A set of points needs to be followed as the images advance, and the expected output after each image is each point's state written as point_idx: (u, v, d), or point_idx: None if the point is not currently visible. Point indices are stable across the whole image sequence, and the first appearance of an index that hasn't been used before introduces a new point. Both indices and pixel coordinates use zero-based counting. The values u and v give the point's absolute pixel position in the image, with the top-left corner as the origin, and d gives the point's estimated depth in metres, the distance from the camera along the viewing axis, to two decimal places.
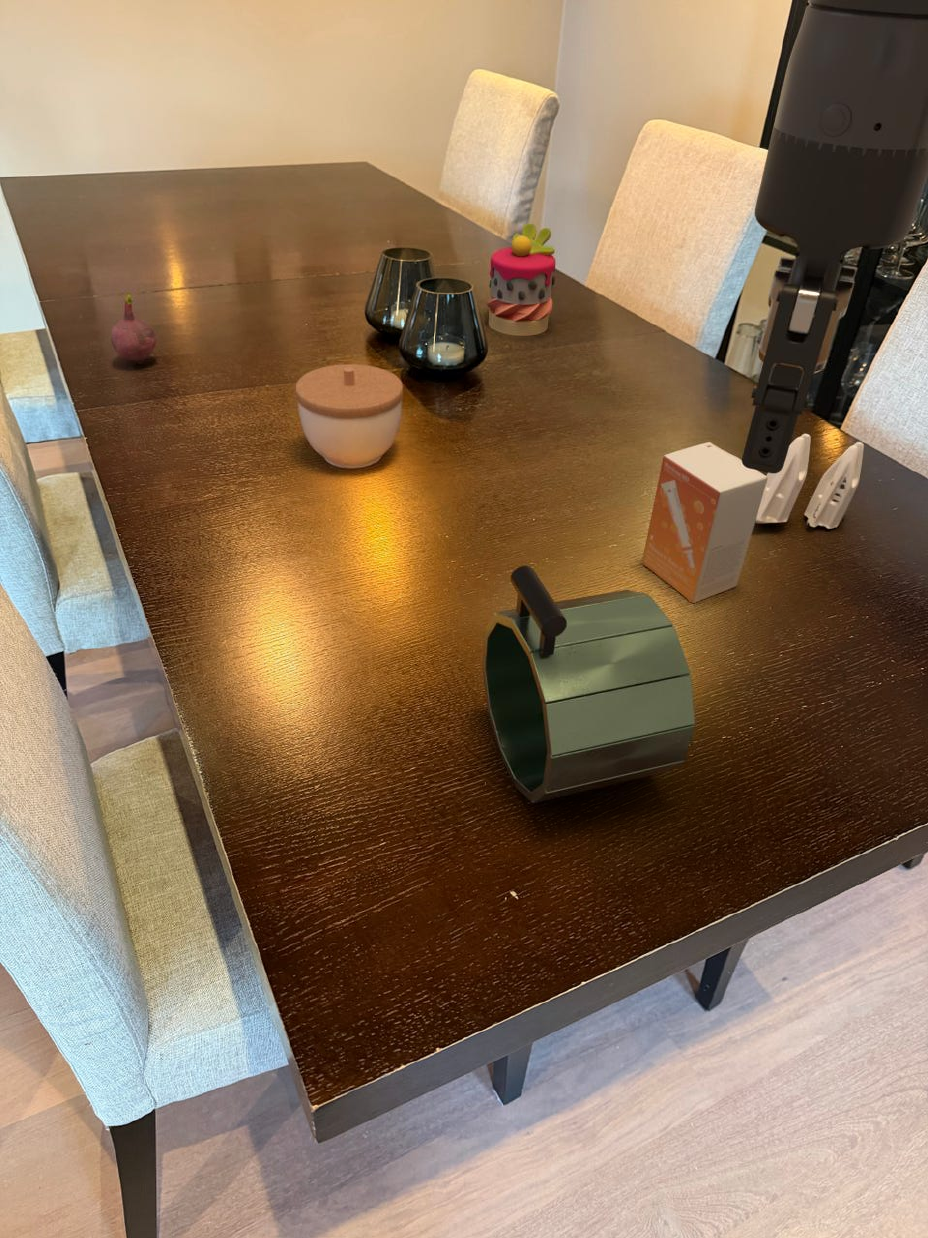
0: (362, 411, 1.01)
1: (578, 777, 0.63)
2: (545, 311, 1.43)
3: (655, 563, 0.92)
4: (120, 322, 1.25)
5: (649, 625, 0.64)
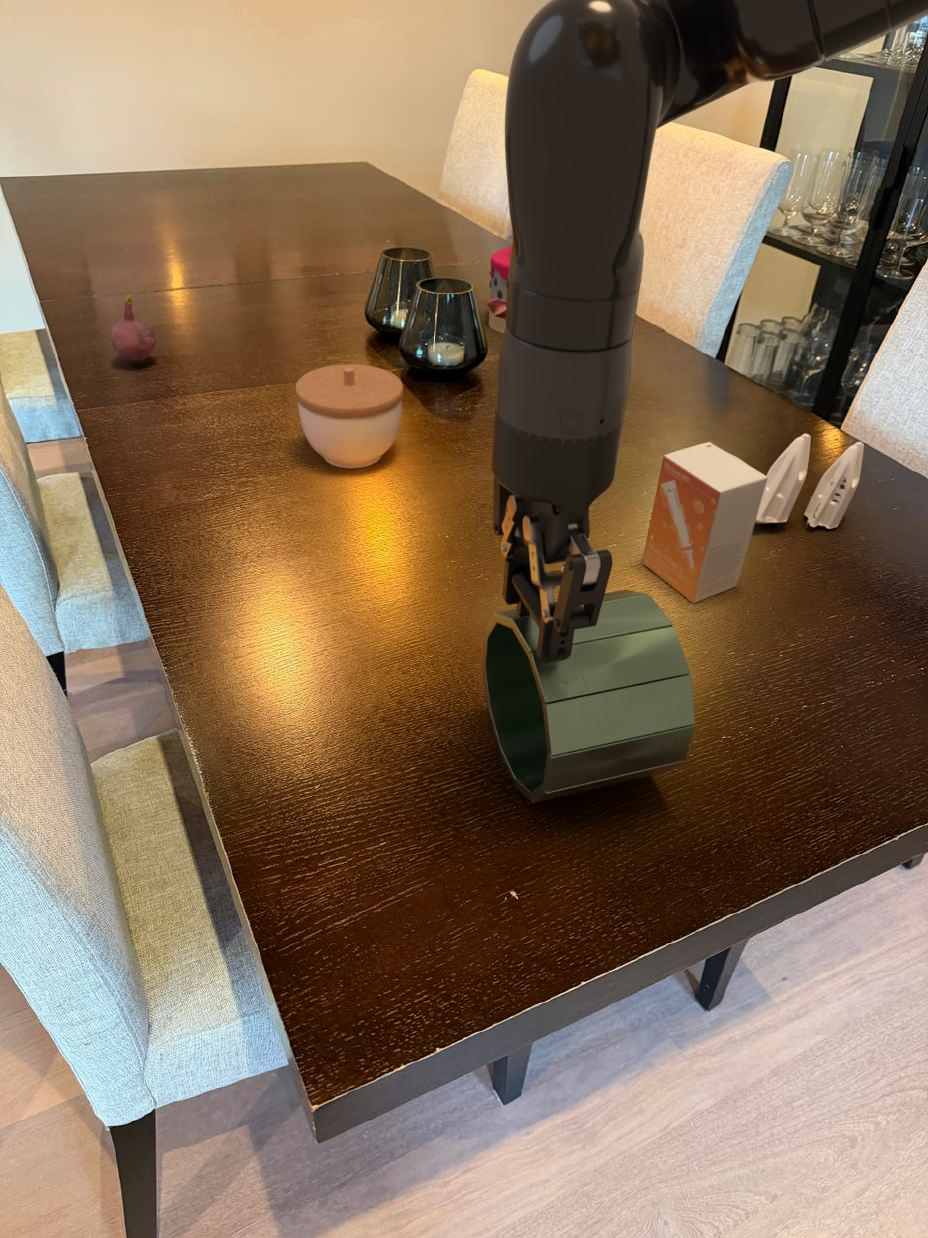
0: (362, 411, 1.01)
1: (578, 777, 0.63)
2: None
3: (655, 563, 0.92)
4: (120, 322, 1.25)
5: (649, 625, 0.64)
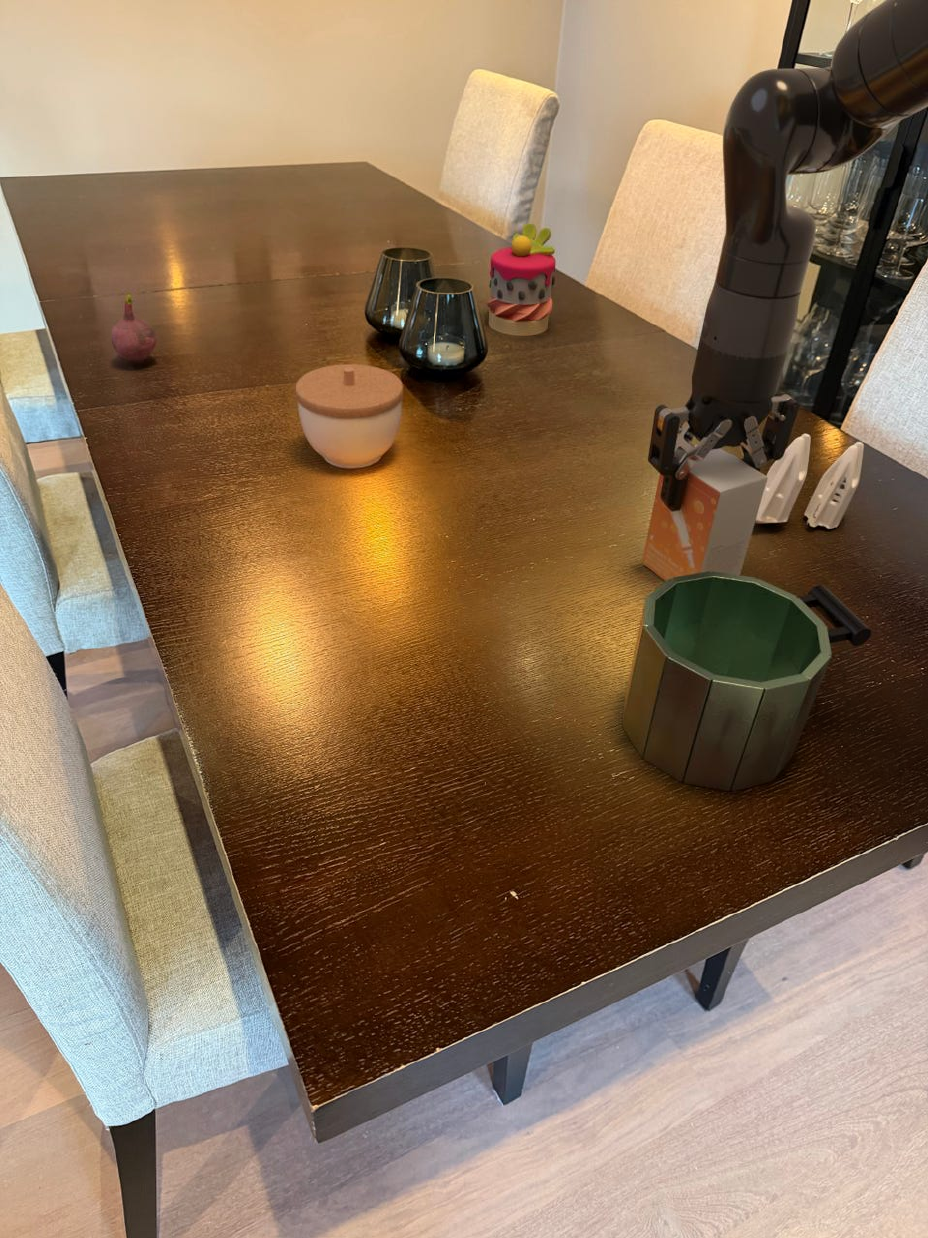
0: (362, 411, 1.01)
1: (768, 710, 0.65)
2: (545, 311, 1.43)
3: (655, 563, 0.92)
4: (120, 322, 1.25)
5: None
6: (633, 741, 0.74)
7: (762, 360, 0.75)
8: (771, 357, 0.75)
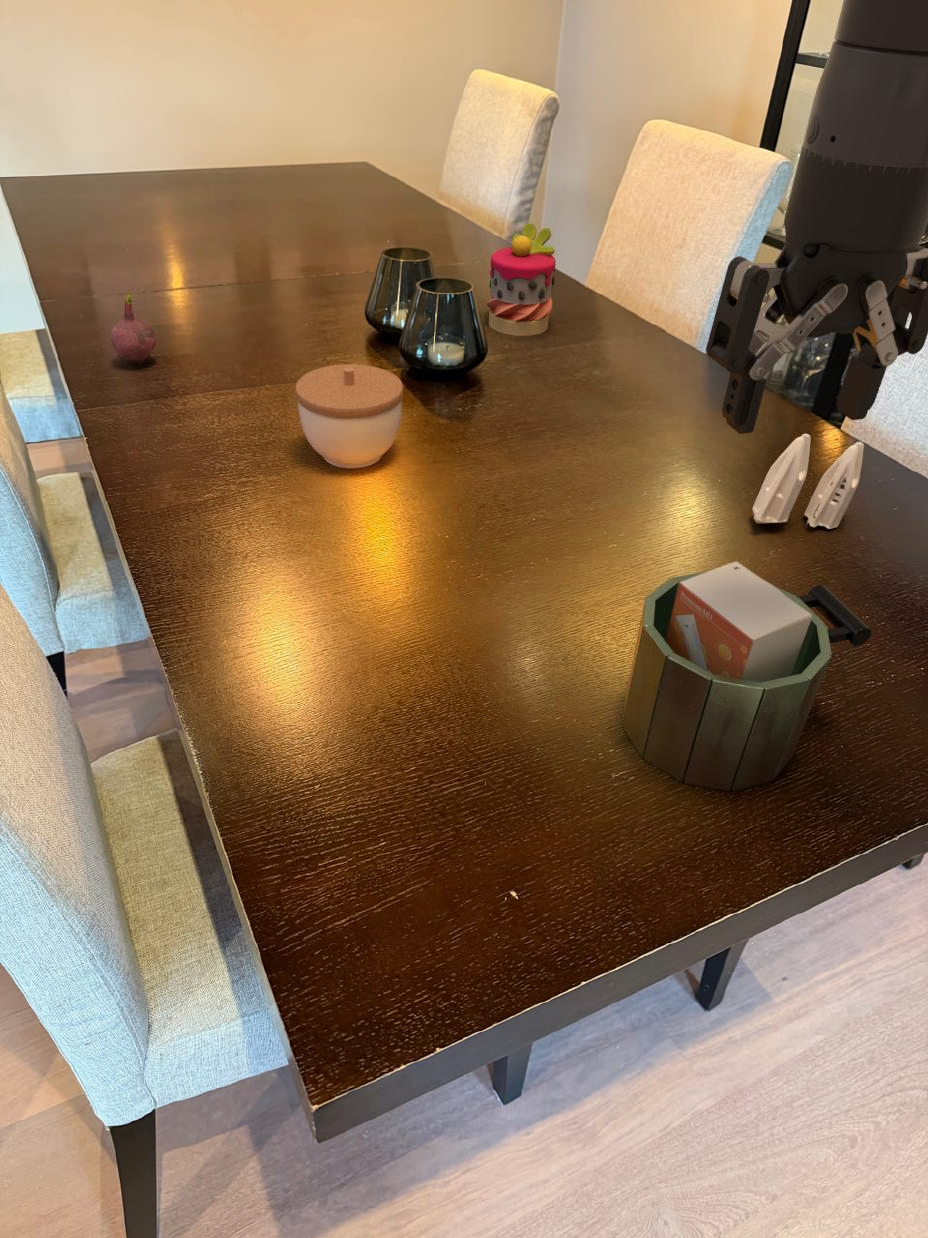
0: (362, 411, 1.01)
1: (768, 710, 0.65)
2: (545, 311, 1.43)
3: None
4: (120, 322, 1.25)
5: None
6: (633, 741, 0.74)
7: (911, 172, 0.46)
8: (925, 168, 0.46)
